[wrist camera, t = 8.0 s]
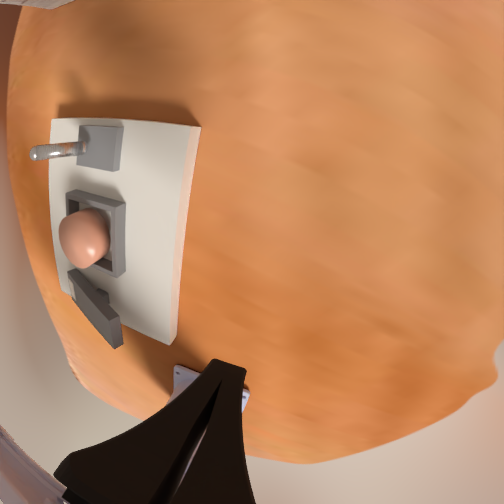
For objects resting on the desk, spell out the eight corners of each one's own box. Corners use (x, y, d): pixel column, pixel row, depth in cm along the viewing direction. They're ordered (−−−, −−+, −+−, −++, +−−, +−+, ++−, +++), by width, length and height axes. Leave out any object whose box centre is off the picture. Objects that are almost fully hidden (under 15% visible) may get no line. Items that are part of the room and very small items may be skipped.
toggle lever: (89, 155, 15) (29, 162, 12) (86, 153, 15) (29, 160, 12) (90, 141, 14) (29, 147, 11) (87, 139, 15) (29, 145, 12)
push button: (111, 263, 19) (95, 275, 17) (77, 248, 19) (61, 258, 17) (110, 214, 17) (91, 223, 15) (75, 203, 17) (56, 210, 15)
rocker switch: (123, 344, 19) (113, 349, 19) (80, 295, 23) (71, 298, 22) (119, 315, 18) (108, 321, 17) (75, 268, 21) (66, 271, 20)
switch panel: (176, 335, 23) (163, 354, 21) (69, 283, 25) (54, 295, 22) (201, 127, 15) (181, 126, 13) (64, 117, 17) (41, 120, 15)
